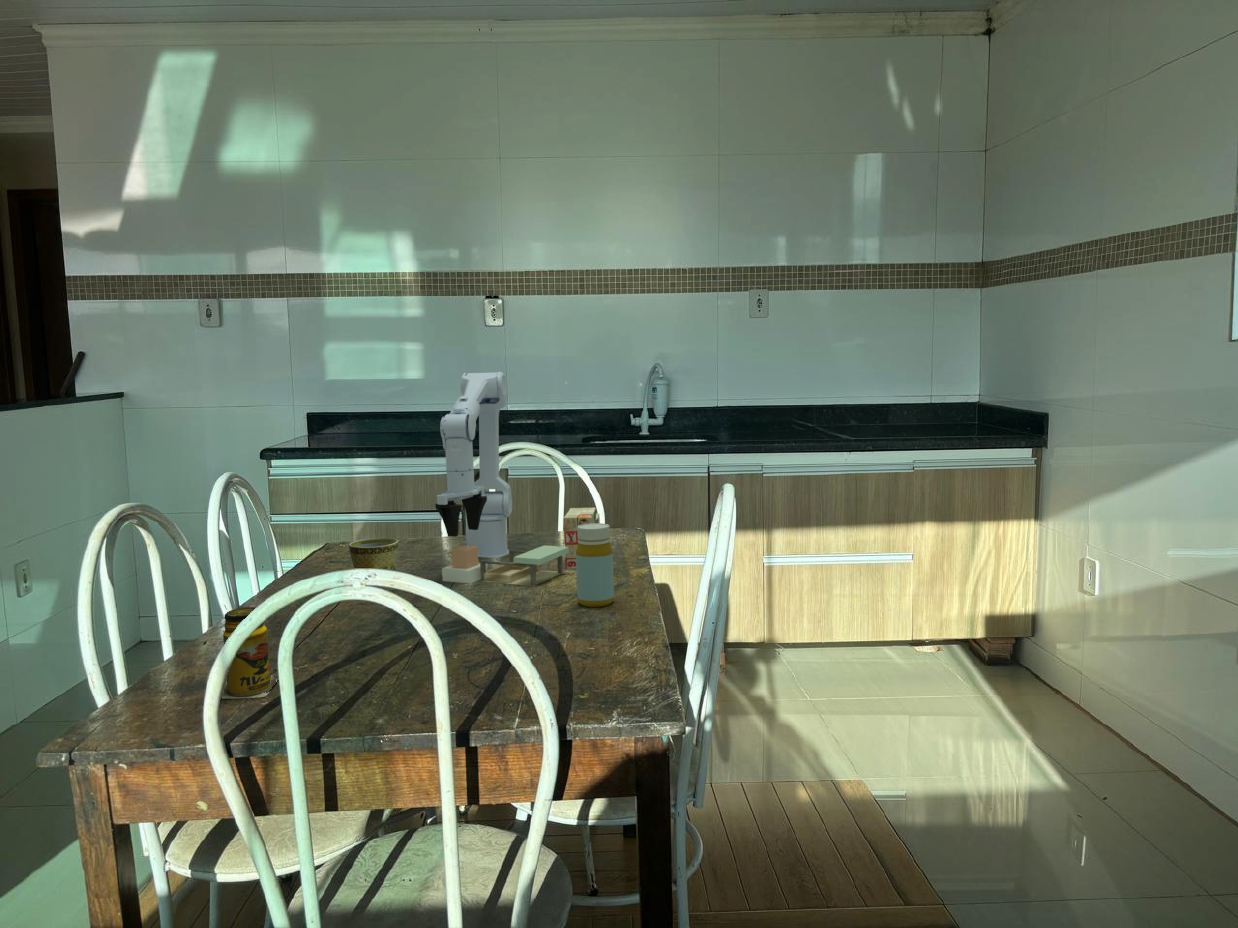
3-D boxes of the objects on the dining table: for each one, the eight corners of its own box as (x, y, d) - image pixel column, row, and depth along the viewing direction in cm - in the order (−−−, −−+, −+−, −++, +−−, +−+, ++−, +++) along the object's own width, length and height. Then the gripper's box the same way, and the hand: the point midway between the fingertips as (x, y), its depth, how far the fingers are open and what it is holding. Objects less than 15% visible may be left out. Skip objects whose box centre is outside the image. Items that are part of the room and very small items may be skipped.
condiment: (266, 697, 136) (260, 616, 134) (205, 700, 135) (198, 619, 134) (280, 680, 143) (274, 603, 141) (222, 683, 142) (216, 605, 141)
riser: (442, 582, 202) (441, 568, 202) (461, 574, 208) (460, 561, 208) (469, 584, 199) (469, 570, 199) (488, 577, 205) (487, 563, 205)
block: (452, 567, 202) (451, 549, 202) (463, 563, 206) (462, 545, 206) (467, 568, 201) (466, 550, 200) (478, 564, 204) (477, 546, 204)
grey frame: (479, 582, 201) (478, 561, 201) (512, 568, 213) (511, 548, 212) (533, 587, 195) (532, 565, 195) (564, 573, 207) (563, 552, 206)
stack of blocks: (576, 551, 231) (574, 501, 229) (601, 550, 230) (599, 500, 229) (565, 571, 210) (563, 516, 208) (593, 570, 209) (591, 516, 208)
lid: (513, 562, 197) (513, 557, 197) (544, 550, 208) (544, 545, 208) (539, 564, 194) (539, 559, 194) (568, 552, 205) (568, 547, 205)
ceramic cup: (407, 590, 196) (404, 542, 195) (359, 597, 191) (356, 549, 190) (387, 578, 207) (384, 533, 206) (341, 585, 202) (338, 539, 201)
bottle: (604, 596, 186) (602, 521, 185) (620, 604, 180) (617, 526, 178) (572, 601, 183) (569, 525, 182) (586, 609, 177) (583, 530, 175)
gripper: (455, 475, 193) (458, 540, 194) (494, 466, 206) (497, 527, 207) (427, 474, 196) (431, 538, 197) (467, 465, 209) (470, 525, 210)
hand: (463, 532), depth 203 cm, fingers open, 7 cm apart
